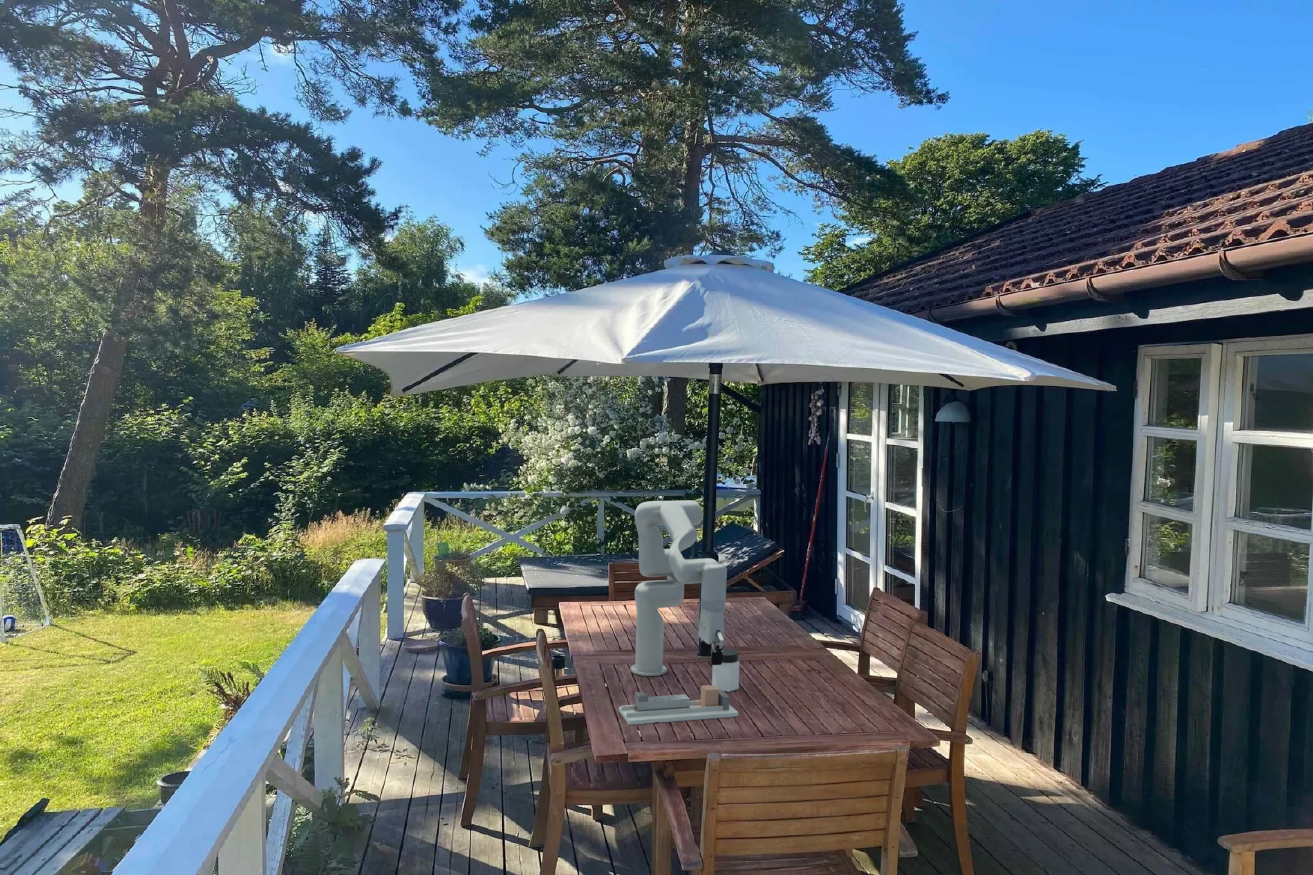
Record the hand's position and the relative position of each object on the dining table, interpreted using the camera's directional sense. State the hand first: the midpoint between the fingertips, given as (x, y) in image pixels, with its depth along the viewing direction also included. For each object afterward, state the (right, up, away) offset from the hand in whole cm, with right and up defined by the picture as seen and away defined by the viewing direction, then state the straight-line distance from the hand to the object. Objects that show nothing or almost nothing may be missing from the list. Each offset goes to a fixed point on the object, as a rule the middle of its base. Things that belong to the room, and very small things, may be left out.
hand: (710, 659), depth 262 cm
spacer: (-1, -15, 0) cm, 15 cm away
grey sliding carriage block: (-15, -14, -4) cm, 21 cm away
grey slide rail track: (-10, -16, -3) cm, 19 cm away
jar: (+6, -15, +23) cm, 29 cm away
